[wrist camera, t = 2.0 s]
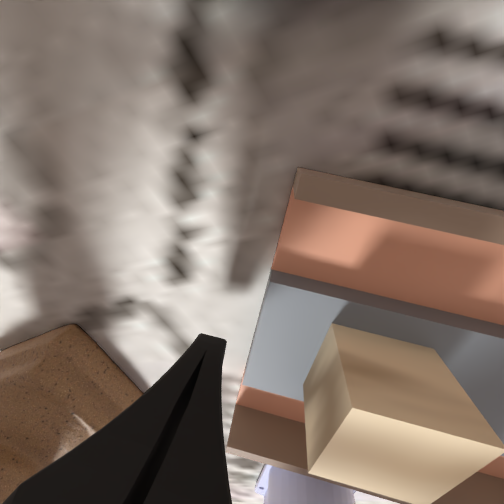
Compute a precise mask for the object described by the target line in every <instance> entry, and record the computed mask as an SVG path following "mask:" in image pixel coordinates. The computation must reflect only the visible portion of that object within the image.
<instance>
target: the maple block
mask: <svg viewBox="0 0 504 504" xmlns="http://www.w3.org/2000/svg"><path fill="white" fill-rule="evenodd" d="M303 394H304V411H305V428H306V446H307V463H308V473H309V474H313V475H316V476H319V477H323V478H326V479H330V480H333V481H336V482H340V483H343V484H347V485H350V486H353V487H357V488H360V489H364V490H367V491H371V492H374V493H377V494H381V495H384V496H388V497H391V498H394V499H398V500H401V501H405V502H408V503H411V504H431V503H433V502H434V501H435V500H437V499H438V498H440V497H441V496H443V495H444V494H446V493H447V492H448V491H450V490H451V489H453V488H454V487H456V486H457V485H458V484H460V483H461V482H463V481H464V480H466V479H467V478H469V477H470V476H471V475H473V474H474V473H476V472H477V471H479V470H480V469H482V468H483V467H484V466H486V465H487V464H489V463H490V462H492V461H493V460H494V459H496V458H497V457H499V456H500V455H502V454H503V453H504V444H503V443H502V441H501V440H500V439H499V437H498V436H497V435H496V433H495V432H494V430H493V429H492V428H491V426H490V425H489V424H488V422H487V421H486V419H485V418H484V417H483V415H482V414H481V413H480V411H479V410H478V408H477V407H476V406H475V404H474V403H473V402H472V400H471V399H470V397H469V396H468V395H467V393H466V392H465V391H464V389H463V388H462V387H461V385H460V384H459V382H458V381H457V380H456V378H455V377H454V376H453V374H452V373H451V371H450V370H449V369H448V367H447V366H446V365H445V363H444V362H443V360H442V359H441V358H440V356H439V355H438V354H437V352H436V351H435V349H432V348H428V347H425V346H421V345H417V344H413V343H409V342H405V341H401V340H397V339H393V338H389V337H385V336H381V335H377V334H373V333H369V332H365V331H361V330H357V329H353V328H349V327H345V326H341V325H337V324H333V323H331V326H330V328H329V330H328V332H327V334H326V336H325V338H324V341H323V343H322V345H321V347H320V349H319V351H318V354H317V356H316V358H315V360H314V362H313V364H312V366H311V369H310V371H309V373H308V375H307V377H306V379H305V381H304V384H303Z"/></svg>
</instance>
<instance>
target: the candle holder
mask: <svg viewBox="0 0 504 504" xmlns="http://www.w3.org/2000/svg"><path fill="white" fill-rule="evenodd" d="M142 395H143V393H142V392H141V391H140V390H139V389H138V387H137V386H136V385H135V384H134V383H133V382H132V381H131V380H130V379H129V378H128V377H127V376H126V375H125V374H124V373H123V372H122V370H121V369H120V368H119V367H118V366H117V365H116V364H115V363H114V362H113V361H112V360H111V359H110V358H109V357H108V356H107V354H106V353H105V352H104V351H103V350H102V349H101V348H100V347H99V346H98V345H97V344H96V343H95V342H94V341H93V340H92V339H91V338H90V337H89V336H88V335H87V334H86V333H85V332H84V331H83V330H82V329H81V328H80V327H79V326H77V325H75V324H69V325H66V326H63V327H59V328H57V329H54V330H52V331H49V332H47V333H44V334H42V335H39V336H37V337H34V338H32V339H29V340H26V341H24V342H21V343H19V344H16V345H14V346H11V347H9V348H7V349H5V350H3V351H1V352H0V504H2V503H3V502H4V501H5V500H6V499H7V498H8V497H9V496H10V494H11V493H12V492H13V491H14V490H15V489H16V488H17V487H18V486H19V485H20V484H21V483H22V482H24V481H25V480H27V479H28V478H30V477H31V476H33V475H34V474H36V473H37V472H39V471H40V470H42V469H43V468H45V467H47V466H48V465H50V464H51V463H53V462H54V461H56V460H57V459H59V458H60V457H62V456H63V455H65V454H66V453H68V452H69V451H71V450H72V449H73V448H75V447H76V446H78V445H79V444H80V443H82V442H83V441H85V440H86V439H87V438H89V437H90V436H91V435H93V434H94V433H96V432H97V431H98V430H100V429H101V428H102V427H104V426H105V425H106V424H108V423H109V422H110V421H112V420H113V419H114V418H115V417H117V416H118V415H119V414H120V413H121V412H123V411H124V410H125V409H126V408H128V407H129V406H130V405H131V404H132V403H134V402H135V401H136V400H137V399H138V398H139V397H141V396H142Z"/></svg>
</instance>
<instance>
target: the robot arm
mask: <svg viewBox="0 0 504 504" xmlns="http://www.w3.org/2000/svg"><path fill="white" fill-rule="evenodd" d="M226 343H227V341H226V340H225V339H221V338H217V337H214V336H210V335H206V334H202V333H201V334H199V335H198V337H197V338H196V339H195V341H194V342H193V343H192V344H191V346H190V347H189V348H188V349H187V350H186V352H185V353H184V354H183V355H182V356H181V357H180V358H179V359H178V360H177V362H176V363H175V364H174V365H173V366H172V367H171V368H170V369H169V370H168V371H167V372H166V373H165V374H164V375H163V376H162V377H161V378H160V379H159V380H158V381H157V382H156V383H155V384H154V385H153V386H152V387H151V388H149V389H148V390H147V391H146V392H145V393H144V394H143V395H142V396H141V397H139V398H138V399H137V400H136V401H135V402H134V403H132V404H131V405H130V406H129V407H128V408H126V409H125V410H124V411H123V412H121V413H120V414H119V415H118V416H117V417H115V418H114V419H113V420H112V421H110V422H109V423H108V424H106V425H105V426H104V427H102V428H101V429H100V430H98V431H97V432H96V433H94V434H93V435H91V436H90V437H89V438H87V439H86V440H85V441H83V442H82V443H80V444H79V445H78V446H76V447H75V448H73V449H72V450H71V451H69V452H68V453H66V454H65V455H63V456H62V457H60V458H59V459H57V460H56V461H54V462H53V463H51V464H50V465H48V466H47V467H45V468H43V469H42V470H40V471H39V472H37V473H36V474H34V475H33V476H31V477H30V478H28V479H27V480H25V481H24V482H22V483H21V484H20V485H19V486H18V487H17V488H16V489H15V490H14V491H13V492H12V493H11V494H10V496H9V497H8V498H7V499H6V500H5V501H4V502H3V503H2V504H232V500H231V494H230V487H229V480H228V472H227V464H226V456H225V447H224V437H223V424H222V402H221V382H222V364H223V359H224V354H225V348H226ZM255 492H256V493H257V494H260V495H264V504H355V499H354V493H355V492H356V490H353V489H349V488H346V487H342V486H339V485H336V484H332V483H329V482H325V481H322V480H319V479H315V478H312V477H308V476H305V475H302V474H298V473H295V472H291V471H288V470H285V469H281V468H278V467H274V466H271V465H268V464H265V466H264V468H263V470H262V472H261V475H260V477H259V479H258V481H257V483H256V485H255Z"/></svg>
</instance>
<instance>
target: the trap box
mask: <svg viewBox="0 0 504 504" xmlns="http://www.w3.org/2000/svg"><path fill="white" fill-rule="evenodd" d="M331 323H333V324H337V325H341V326H345V327H349V328H353V329H357V330H361V331H365V332H369V333H373V334H377V335H381V336H385V337H389V338H393V339H397V340H401V341H405V342H409V343H413V344H417V345H421V346H425V347H428V348H432V349H435V351H436V352H437V354H438V355H439V356H440V358H441V359H442V360H443V362H444V363H445V365H446V366H447V367H448V369H449V370H450V371H451V373H452V374H453V376H454V377H455V378H456V380H457V381H458V382H459V384H460V385H461V387H462V388H463V389H464V391H465V392H466V393H467V395H468V396H469V397H470V399H471V400H472V402H473V403H474V404H475V406H476V407H477V408H478V410H479V411H480V413H481V414H482V415H483V417H484V418H485V419H486V421H487V422H488V424H489V425H490V426H491V428H492V429H493V430H494V432H495V433H496V435H497V436H498V437H499V439H500V440H501V441H502V443H503V444H504V211H503V210H498V209H493V208H488V207H484V206H479V205H474V204H470V203H465V202H460V201H455V200H451V199H446V198H441V197H437V196H432V195H427V194H422V193H418V192H413V191H408V190H404V189H399V188H394V187H390V186H385V185H380V184H375V183H371V182H366V181H361V180H357V179H352V178H347V177H342V176H338V175H333V174H328V173H324V172H319V171H314V170H310V169H305V168H300V167H298V168H297V172H296V176H295V180H294V184H293V188H292V191H291V195H290V199H289V203H288V207H287V210H286V214H285V218H284V222H283V226H282V229H281V233H280V237H279V241H278V245H277V249H276V252H275V256H274V260H273V264H272V268H271V271H270V275H269V279H268V283H267V287H266V291H265V294H264V298H263V302H262V306H261V310H260V313H259V317H258V321H257V325H256V329H255V332H254V336H253V340H252V344H251V348H250V352H249V355H248V359H247V363H246V367H245V371H244V374H243V378H242V382H241V386H240V390H239V394H238V397H237V401H236V405H235V409H234V414H233V419H232V424H231V428H230V433H229V438H228V443H227V447H226V452H227V453H230V454H234V455H237V456H240V457H244V458H247V459H251V460H254V461H257V462H261V463H264V464H268V465H271V466H274V467H278V468H281V469H285V470H288V471H291V472H295V473H298V474H302V475H305V476H308V477H312V478H315V479H319V480H322V481H325V482H329V483H332V484H336V485H339V486H342V487H346V488H349V489H353V490H356V491H359V492H363V493H366V494H370V495H373V496H376V497H380V498H383V499H387V500H390V501H393V502H397V503H400V504H411V503H408V502H405V501H401V500H398V499H394V498H391V497H388V496H384V495H381V494H377V493H374V492H371V491H367V490H364V489H360V488H357V487H353V486H350V485H347V484H343V483H340V482H336V481H333V480H330V479H326V478H323V477H319V476H316V475H313V474H309V473H308V463H307V446H306V428H305V411H304V394H303V384H304V381H305V379H306V377H307V375H308V373H309V371H310V369H311V366H312V364H313V362H314V360H315V358H316V356H317V354H318V351H319V349H320V347H321V345H322V343H323V341H324V338H325V336H326V334H327V332H328V330H329V328H330V326H331ZM431 504H504V453H503V454H502V455H500V456H499V457H497V458H496V459H494V460H493V461H492V462H490V463H489V464H487V465H486V466H484V467H483V468H482V469H480V470H479V471H477V472H476V473H474V474H473V475H471V476H470V477H469V478H467V479H466V480H464V481H463V482H461V483H460V484H458V485H457V486H456V487H454V488H453V489H451V490H450V491H448V492H447V493H446V494H444V495H443V496H441V497H440V498H438V499H437V500H435V501H434V502H433V503H431Z"/></svg>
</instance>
